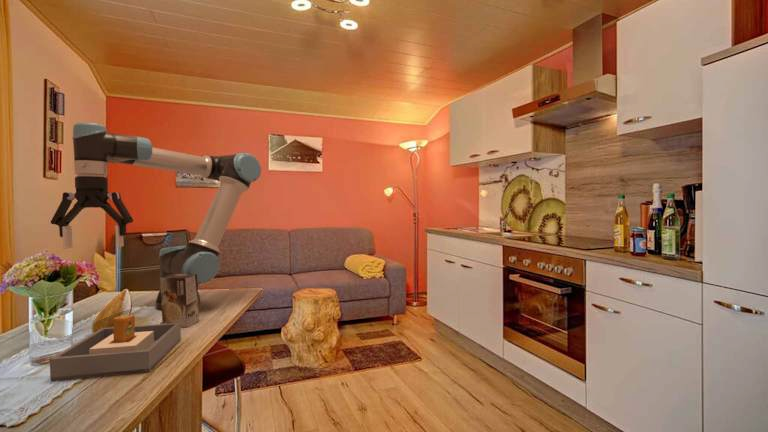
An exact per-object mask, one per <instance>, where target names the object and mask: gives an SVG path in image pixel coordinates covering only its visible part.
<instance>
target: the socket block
mask: <svg viewBox="0 0 768 432" xmlns="http://www.w3.org/2000/svg"><path fill="white" fill-rule="evenodd" d="M153 343H154V331H146V332H135V338H134V339H132V340H131V341H130V342H124V343H114V334H112V335H110V336H108V337H107V338H105V339H104V340H102V341H101V342H99V343H98V344H96V345H95V346H93V347H92V348H90V349H89V354H101V353H114V352H126V351H138V350H147V349H148V348H149V347H150V346H151V345H152V344H153Z"/></svg>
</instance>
